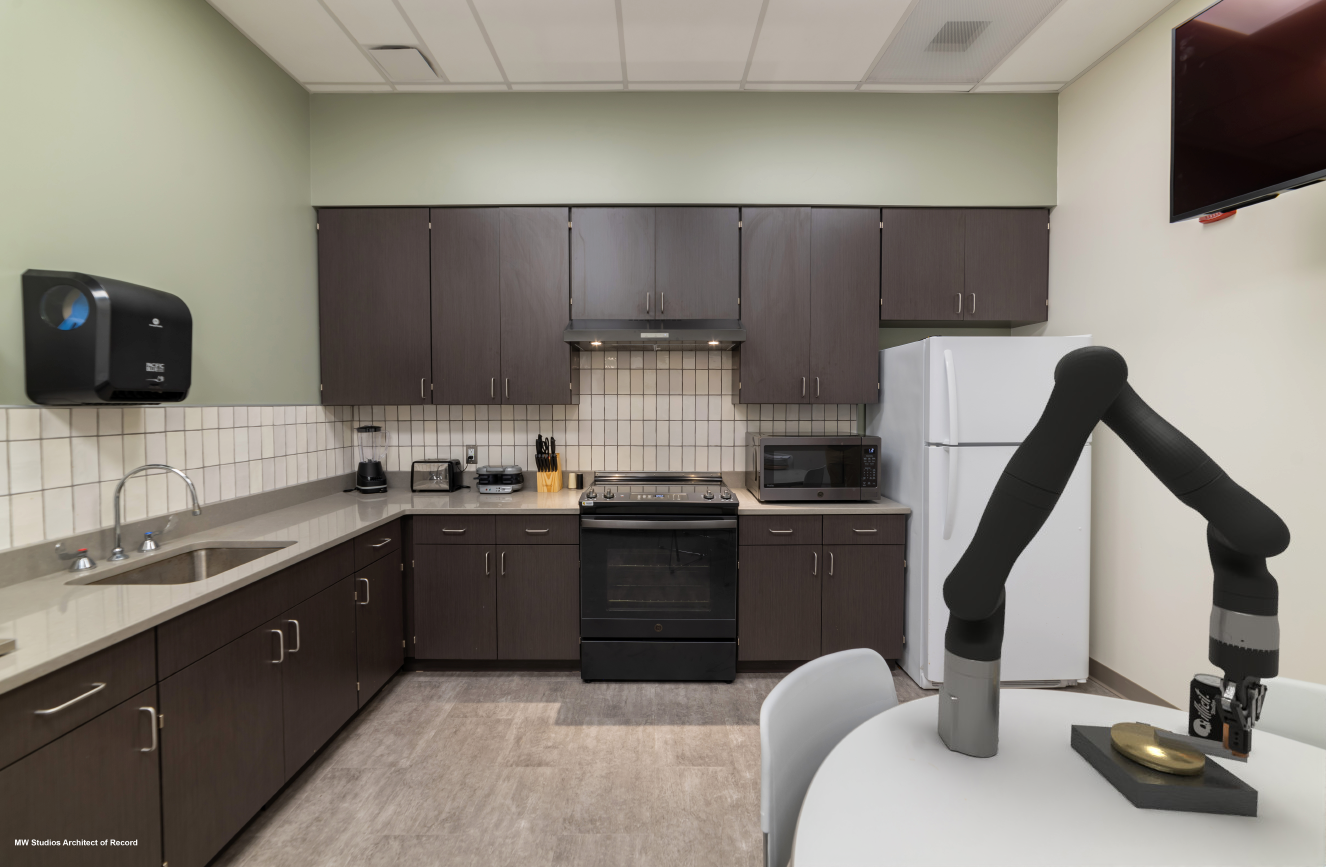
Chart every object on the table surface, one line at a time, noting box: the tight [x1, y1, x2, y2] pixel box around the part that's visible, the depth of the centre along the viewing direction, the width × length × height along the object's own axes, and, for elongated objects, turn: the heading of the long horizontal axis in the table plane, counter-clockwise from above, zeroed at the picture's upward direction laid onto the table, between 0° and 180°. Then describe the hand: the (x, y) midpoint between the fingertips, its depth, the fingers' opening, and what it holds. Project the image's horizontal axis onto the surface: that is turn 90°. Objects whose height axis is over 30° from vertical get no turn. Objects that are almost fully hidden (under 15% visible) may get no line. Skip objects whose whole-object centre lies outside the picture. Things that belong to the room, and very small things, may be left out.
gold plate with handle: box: [1110, 721, 1250, 775], centre depth 96 cm, size 18×13×8 cm
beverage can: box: [1187, 672, 1224, 742], centre depth 108 cm, size 7×7×12 cm
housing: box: [1070, 724, 1259, 818], centre depth 97 cm, size 17×17×4 cm
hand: (1239, 750), depth 88 cm, fingers closed
